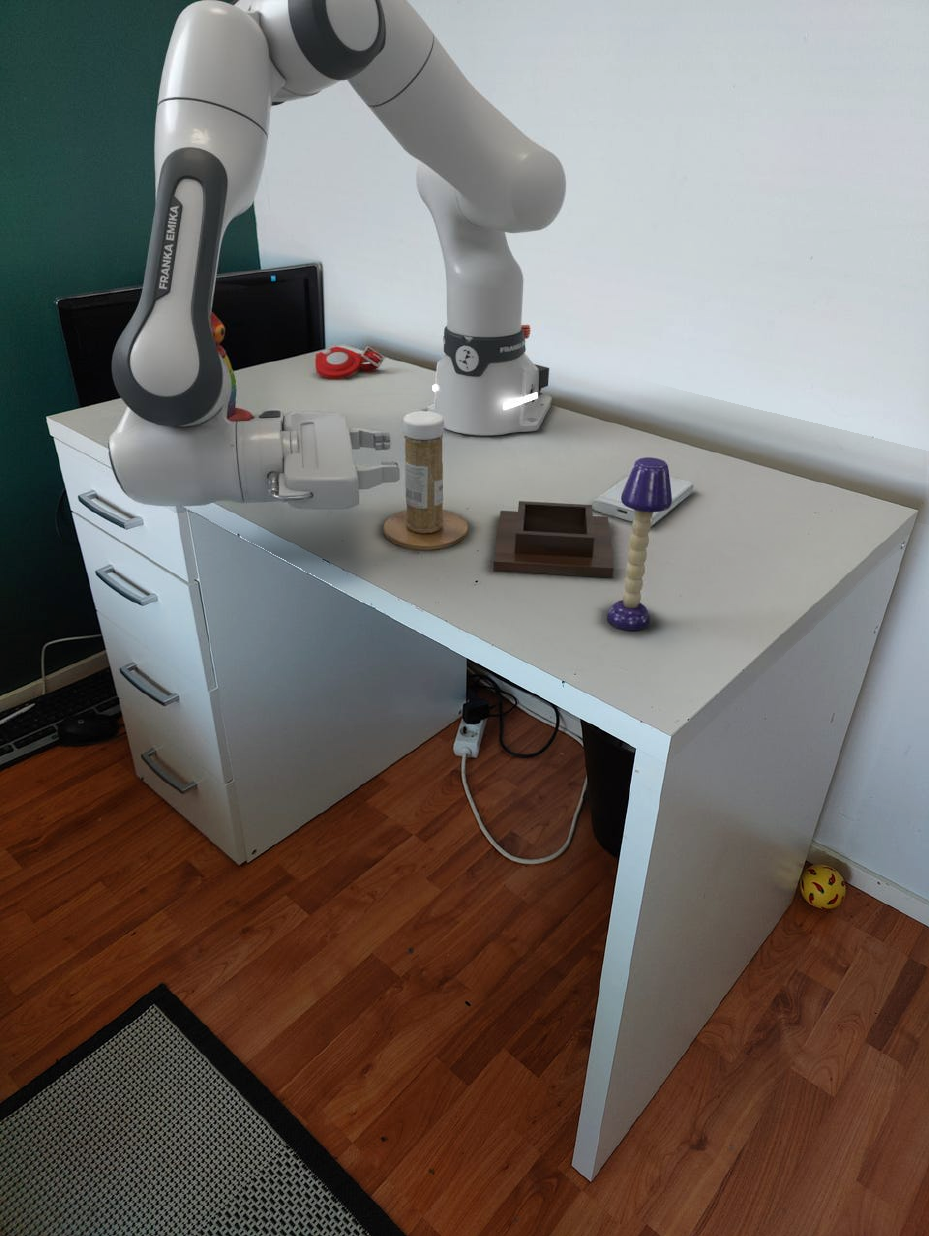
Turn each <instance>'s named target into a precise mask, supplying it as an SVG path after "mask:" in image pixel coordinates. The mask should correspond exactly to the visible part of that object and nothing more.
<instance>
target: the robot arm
mask: <svg viewBox="0 0 929 1236" xmlns="http://www.w3.org/2000/svg"><path fill="white" fill-rule="evenodd" d="M435 35H436V34H434V32H433V31H432V30H431V28H430V27H429V25H428V24H427V23H426V22H425V19H423V17H422V16H421V15H420V14H419V13H418V12H417V10H416V9H415V8H414V7H413V5H412V4H411V3H410V2H409V1H408V0H232V1H231V2H230V3H228V2H225V1H223V0H199V1H194V2H193V3H191V4H189V5H188V6H186V7H185V8H184V9H183V10H182V11H181V12H180V14H179V15H178V17H177V19H176V21H175V24H174V28H173V31H172V33H171V37H170V40H169V44H168V47H167V51H166V54H165V59H164V64H163V68H162V72H161V78H160V82H159V90H158V91H159V92H158V98H157V106H156V113H155V125H154V146H153V147H154V150H153V151H154V180H155V182H154V183H155V186H154V187H155V205H154V213H153V218H152V226H151V233H150V239H149V245H148V252H147V258H146V265H145V271H144V279H143V285H142V290H141V295H140V298H139V302H138V304H137V307H136V309H135V311H134V313H133V315H132V317H131V319H129V321H128V323H127V324H126V326H125V328H124V329H123V330H122V332H121V334H120V336H119V338H118V340H117V341H116V344H115V347H114V349H113V353H112V359H111V375H112V380H113V384H114V387H115V389H116V390H117V393H118V395H119V397H120V399H121V400H122V402H123V403H124V404H125V405H126V407H125V410H124V412H123V414H122V417H121V418H120V421H119V423H118V425H116V426H117V427H116V428H115V429H114V431H113V432H112V433H111V434H110V435H109V437H108V444H107V447H108V458H109V462H110V466H111V469H112V472H113V475H114V478H115V480H116V482H117V484H118V485H119V487H120V490H121V491H122V492H123V493H124V494H125V495H126V496H127V497H128V498H129V499H131V500H132V501H134V502H135V503H138V504H142V505H146V506H151V507H152V506H155V507H199V506H206V505H210V504H213V503H216V502H232V503H236V504H237V503H238V504H255V503H257V504H258V503H270V502H271V503H272V502H281V503H287V505H289V506H290V507H292V508H295V509H301V510H324V511H325V510H330V511H331V510H348V509H349V510H350V509H352V508H355V507H357V506H359V504H360V490H370V489H372V488H375V487H377V486H379V485H381V484H385V483H386V484H387V483H397V482H399V481H400V479H401V477H400V475H401V472H400V467H399V463H398V462H396V461H381V464H378V465H373V466H369V467H367V465H356V464H357V463H356V458H355V454H354V450H360V449H361V448H365V449H367V448H368V449H374V451H389V450H390V449H391V435H390V433H389V431H387V430H383V431H381V430H380V431H373V430H370V429H365V428H361V427H349V421H348V418H347V417H348V416H346V415H344V414H341V413H338V412H331V411H330V412H329V411H292V412H288V413H286V414H285V415H284V411H283V409H281V408H267V409H264V410H263V411H262V412H261V413H260V414H259V415H257V416H256V417H254V419H251V420H250V421H238V422H237V421H234V422H232V421H229V420H228V419H227V415H228V406H229V400H230V396H231V387H232V384H231V377H230V373H229V370H228V367H227V365H226V363H225V361H224V360H223V358H222V357H221V355H220V354H219V353H218V350H217V347H216V345H215V342H214V338H213V334H212V328H211V311H212V309H213V303H214V294H215V286H216V281H217V272H218V268H219V267H218V266H219V259H220V252H221V246H222V241H223V238H224V235H225V232H226V229H227V227H228V226H229V224H230V222H231V221H232V220H233V219H234V218H237V217H239V216H240V215H242V214H244V213H245V212H246V211H248V210H249V208H250V207H251V206H252V205H253V203H254V200H255V197H256V195H257V192H258V189H259V185H260V182H261V179H262V175H263V171H264V166H265V161H266V156H267V149H268V140H269V134H270V133H269V131H270V121H271V109H272V107H274V106H279V105H282V104H284V103H286V102H291V101H297V100H301V99H305V98H308V97H309V98H310V97H313V96H315V95H317V94H319V93H321V92H322V91H323V90H326V89H328V88H330V87H332V86H334V85H336V84H337V83H339V82H341V81H347V82H348V83H349V84H350V86H351V87H352V89H353V90H354V92H355V93H356V94H357V96H358V97H359V98H360V99H361V100H362V101H363V103H364V104H365V105H366V106H367V107H368V108H369V109H370V111H371V112H372V113H373V114H374V116H375V117H376V118H377V119H378V120H379V121H380V123H381V124H382V125H383V126H384V127H385V128H386V130H387V131H388V132H389V133H390V135H391V136H392V137H393V138H394V139H395V141H396V142H397V143H398V144H399V146H400V147H402V149H403V150H404V151H405V152H406V153H407V154H409V155H410V156H411V157H413V158H414V159H416V160H418V163H417V165H416V173H415V181H416V189H417V192H418V195H419V196H420V198H421V200H422V202H423V203H424V204H425V206H426V208H427V209H428V210H429V213H430V215H431V217H432V220H433V223H434V226H435V229H436V232H437V237H438V241H439V245H440V248H441V252H442V257H443V263H444V268H445V279H446V326H445V327H444V329H443V337H442V342H443V353H444V356H443V357H442V358H441V359H440V360H439V361H437V364H436V370H435V384H433V385H432V391H433V392H434V397H433V398H434V399H433V403H430V404H428V405H427V409H426V411H428V412H434V413H438V414H440V415H441V416H443V418H444V430H447V431H451V432H454V433H459V434H463V435H469V436H500V435H507V434H512V433H519V432H520V433H524V432H525V433H527V432H536V431H538V430H539V429H540V427H541V425H542V423H543V421H544V419H545V417H546V415H547V414H548V411H549V410H550V408H551V406H552V404H553V398H552V396H550V395H548V394H545V393H543V392H541V390H542V389H544V388H546V387H549V377H550V376H549V375H550V367H547V366H543V365H540V364H535V363H533V361H532V360H531V359H530V358H529V356H528V355H527V354H526V350H527V349H526V340H528V339H529V338H530V335H531V331H532V330H531V325H530V324H522V321H523V318H522V317H523V301H524V300H523V299H524V283H525V282H524V281H525V280H524V274H523V271H522V268H521V266H520V265H519V263H518V262H517V260H516V259H515V258H514V256H513V254H512V251H511V249H510V246H509V242H508V239H507V235H506V233H508V234H521V233H531V232H536V231H537V232H538V231H542V230H543V229H546V228H547V227H549V226H550V225H551V224H552V223H553V222H554V221H555V220H556V219H557V217H558V215H559V214H560V212H561V210H562V208H563V205H564V202H565V199H566V194H567V178H566V173H565V169H564V166H563V164H562V162H561V161H560V159H559V158H558V157H557V155H556V154H554V153H553V152H551V151H549V150H548V149H546V148H544V147H543V146H542V145H540V144H538V143H537V142H535V141H534V140H533V139H531V138H530V137H529V136H527V135H526V134H525V133H523V132H522V131H521V130H520V129H519V128H518V127H517V126H516V125H515V124H514V123H513V122H512V121H511V120H510V119H509V118H508V117H507V116H505V115H504V114H503V113H502V112H501V111H500V110H499V109H497V108H496V107H495V106H494V105H493V104H492V103H491V102H490V101H489V100H487V99H486V98H485V97H484V96H483V94H481V93H480V92H479V90H478V89H476V88H475V87H474V85H473V84H472V83H471V82H470V81H469V80H468V79H467V77H466V76H465V74H464V73H463V72H462V71H461V69H460V68H459V66H458V65H457V63H455V61H454V59H453V58H452V57H451V56H450V54H449V53H448V52H447V50H446V49H445V48H444V46H443V44H441V42H440V41H439V39H438V38H437V36H435Z"/></svg>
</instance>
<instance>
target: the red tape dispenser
mask: <svg viewBox="0 0 929 1236" xmlns="http://www.w3.org/2000/svg"><path fill="white" fill-rule="evenodd" d="M385 358H386V357H385V356H384V355H382V354H381V353H379V352H378V351H376V350H374V349H373V348H372V347H370V346H368V345H367V346H366V347H365V349H364V350H363V351H362V352H361V353H359V352H356V351H353V350H351V349H348V348H344V347H342V346H333V347H330V348H326V349H324V350H323V351H320V352H318V353H316V354H315V361H314V363H315V370H316V373H317V375H319V376H320V377H322V378H324V379H328V380H342V379H346V378H349V377H351V376H353V375H354V374H355V373H357V372H358V371H361V372H371V371H372V372H373V371H376V370H377V369H378V368H380V367H381V365H382V364H383V362H384V360H385Z"/></svg>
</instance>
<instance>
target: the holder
mask: <svg viewBox="0 0 929 1236" xmlns="http://www.w3.org/2000/svg"><path fill="white" fill-rule="evenodd" d="M592 507H593V504H580V503H579V504H578V503H561V502H541V501H524V500H518V506H517V511H513V510H512V511H511V510H500V512H499V519H498V520H499V521H498V526H497V533H496V541H495V549H494V554H493V565H492V566H493V567H492V570H493V571H495V572H496V571H497V572H510V573H511V572H512V573H529V574H543V575H544V574H546V575H558V576H559V575H562V576H576V577H578V576H579V577H593V578H595V577H596V578H613V577H614V561H613V551H612V541H611V532H610V524H609V523H610V522H609V517H608V516H602V515H601V516H600V515H594V514H593V513H594V512H593V511H594V510H593V508H592Z"/></svg>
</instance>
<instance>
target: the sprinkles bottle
mask: <svg viewBox="0 0 929 1236" xmlns="http://www.w3.org/2000/svg"><path fill="white" fill-rule="evenodd" d="M402 433H403V435H404V436H403V437H404V483H405V485H404V487H405V502H406V510H407V521H406V526H407V528H408V529H410V530H411V531H413V532H417V533H424V534H425V533H433V532H436V531H438V530H440V529H441V528H442V527H443V525H444V521H443V510H444V509H443V508H444V502H443V501H444V463H443V437H444V435H445V428H444V418H443V416H441V415H440V414H438V413H434V412H428V411H427V410H426V411H424V410H423V411H421V410H420V411H413V412H410V413H407V414H406V415H404V417H403V418H402Z"/></svg>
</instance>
